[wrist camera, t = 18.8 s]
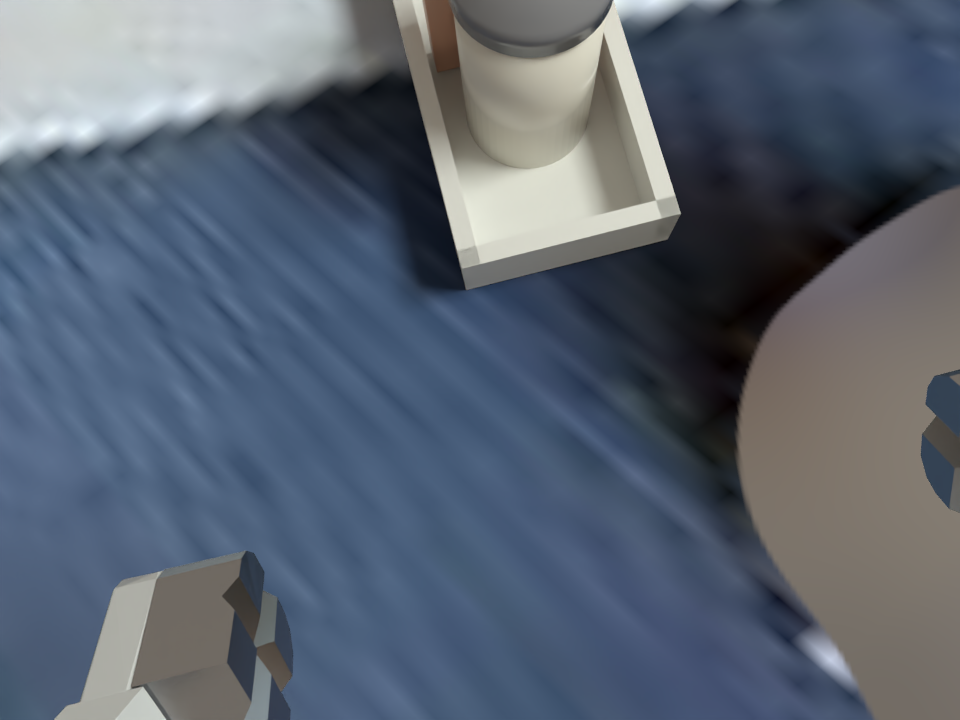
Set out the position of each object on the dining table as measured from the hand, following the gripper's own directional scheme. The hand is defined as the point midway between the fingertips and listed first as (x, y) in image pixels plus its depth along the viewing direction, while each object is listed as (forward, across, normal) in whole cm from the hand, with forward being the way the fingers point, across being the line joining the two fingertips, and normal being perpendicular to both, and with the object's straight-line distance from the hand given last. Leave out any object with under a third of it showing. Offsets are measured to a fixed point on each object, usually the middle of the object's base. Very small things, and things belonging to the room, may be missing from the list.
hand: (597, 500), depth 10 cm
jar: (+30, -4, +5) cm, 31 cm away
